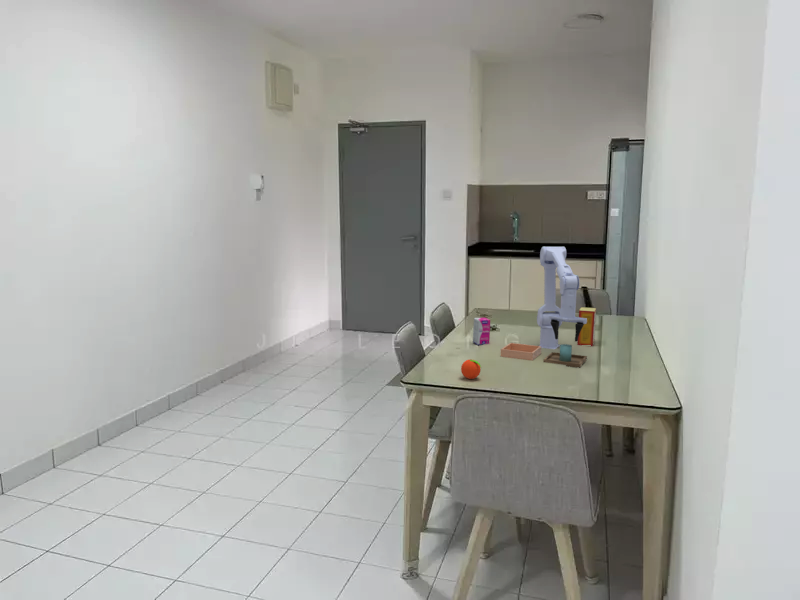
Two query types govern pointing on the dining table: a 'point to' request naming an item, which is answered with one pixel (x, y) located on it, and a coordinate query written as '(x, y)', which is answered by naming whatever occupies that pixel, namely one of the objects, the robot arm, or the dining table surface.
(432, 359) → the dining table surface
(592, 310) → the baking soda box
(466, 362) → the clementine
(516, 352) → the pink storage bin
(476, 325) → the supplement box
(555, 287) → the robot arm
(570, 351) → the teal cylinder
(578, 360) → the tray
